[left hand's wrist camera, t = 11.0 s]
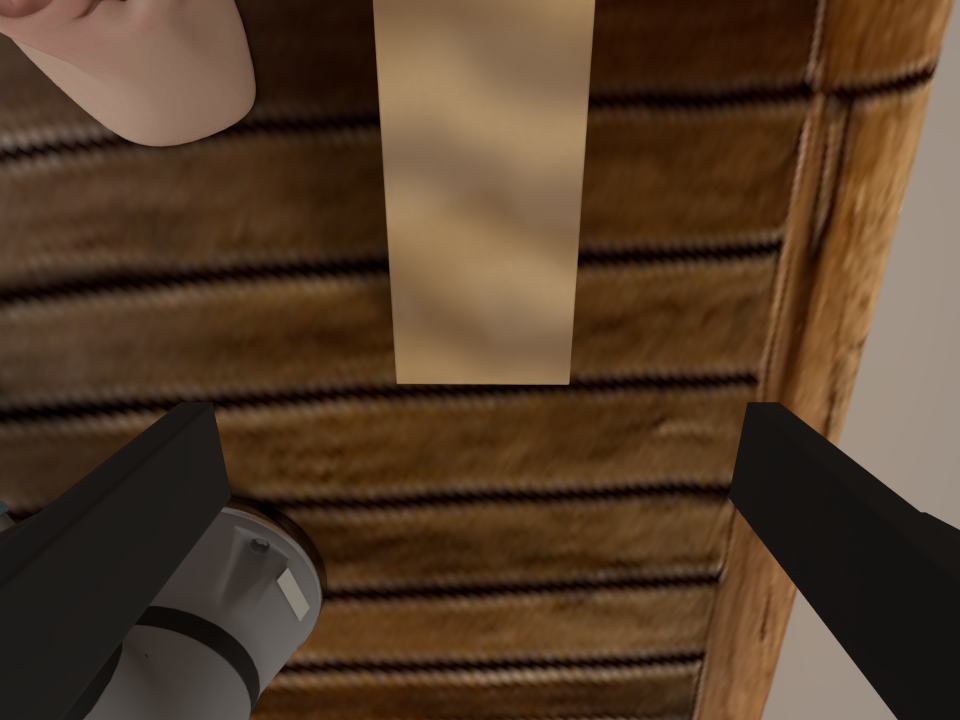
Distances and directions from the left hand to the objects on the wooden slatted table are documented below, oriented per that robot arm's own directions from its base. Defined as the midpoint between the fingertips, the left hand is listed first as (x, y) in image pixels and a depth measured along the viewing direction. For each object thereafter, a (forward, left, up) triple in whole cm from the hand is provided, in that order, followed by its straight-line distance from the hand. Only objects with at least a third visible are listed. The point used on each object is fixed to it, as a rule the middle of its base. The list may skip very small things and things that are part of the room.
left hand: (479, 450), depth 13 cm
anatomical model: (-17, +16, -21) cm, 31 cm away
